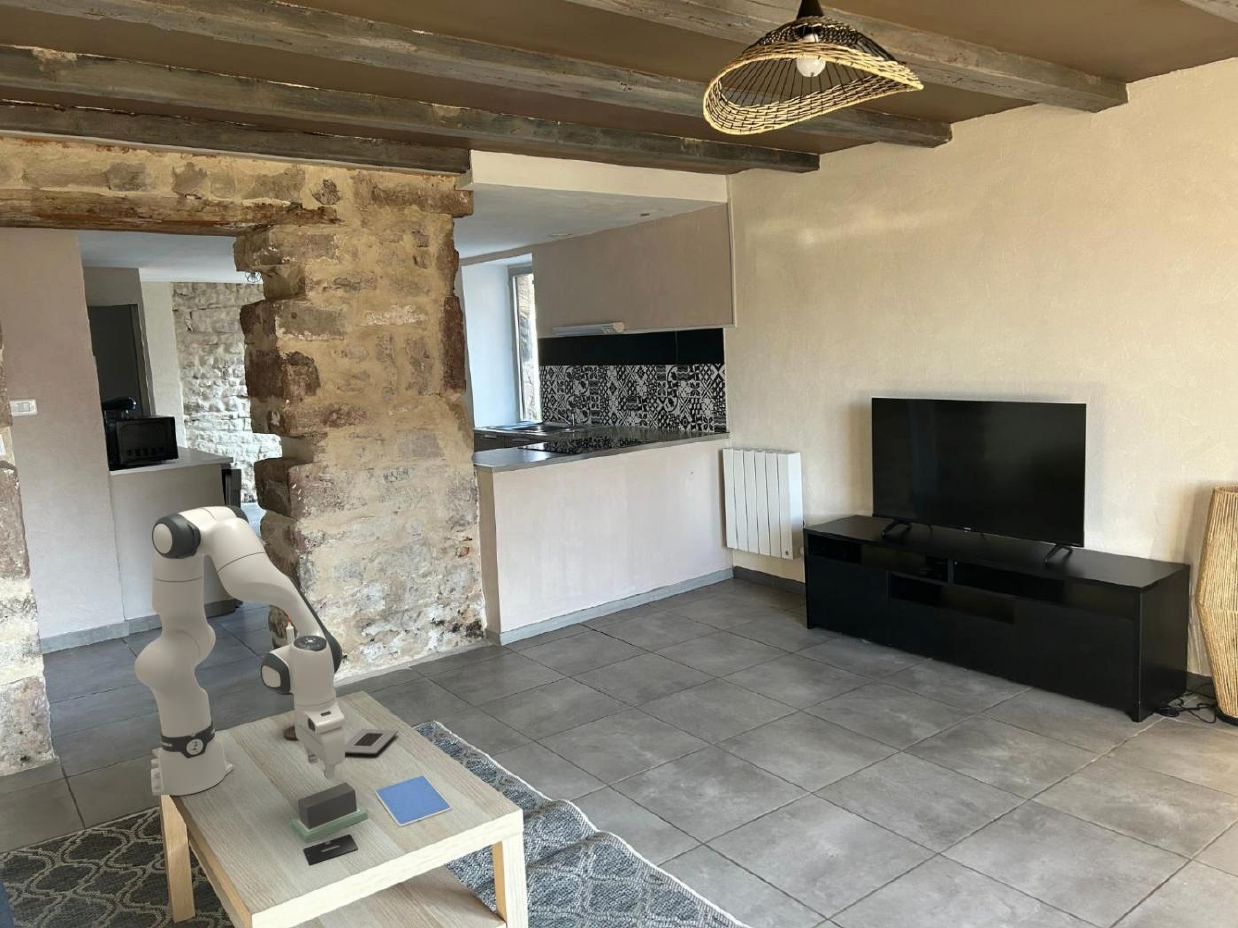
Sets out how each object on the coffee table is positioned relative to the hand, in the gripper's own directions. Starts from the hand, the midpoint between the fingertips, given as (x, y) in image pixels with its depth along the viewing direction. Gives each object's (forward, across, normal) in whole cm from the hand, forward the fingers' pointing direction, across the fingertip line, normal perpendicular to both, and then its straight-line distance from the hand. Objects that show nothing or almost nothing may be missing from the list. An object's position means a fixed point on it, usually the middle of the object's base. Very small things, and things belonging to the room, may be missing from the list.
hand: (321, 769), depth 198 cm
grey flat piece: (+13, -30, +24) cm, 40 cm away
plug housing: (+11, 0, +1) cm, 11 cm away
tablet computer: (+13, +5, +18) cm, 23 cm away
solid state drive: (+13, +11, -3) cm, 18 cm away
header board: (+12, 0, +1) cm, 13 cm away
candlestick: (+13, -52, +13) cm, 55 cm away
